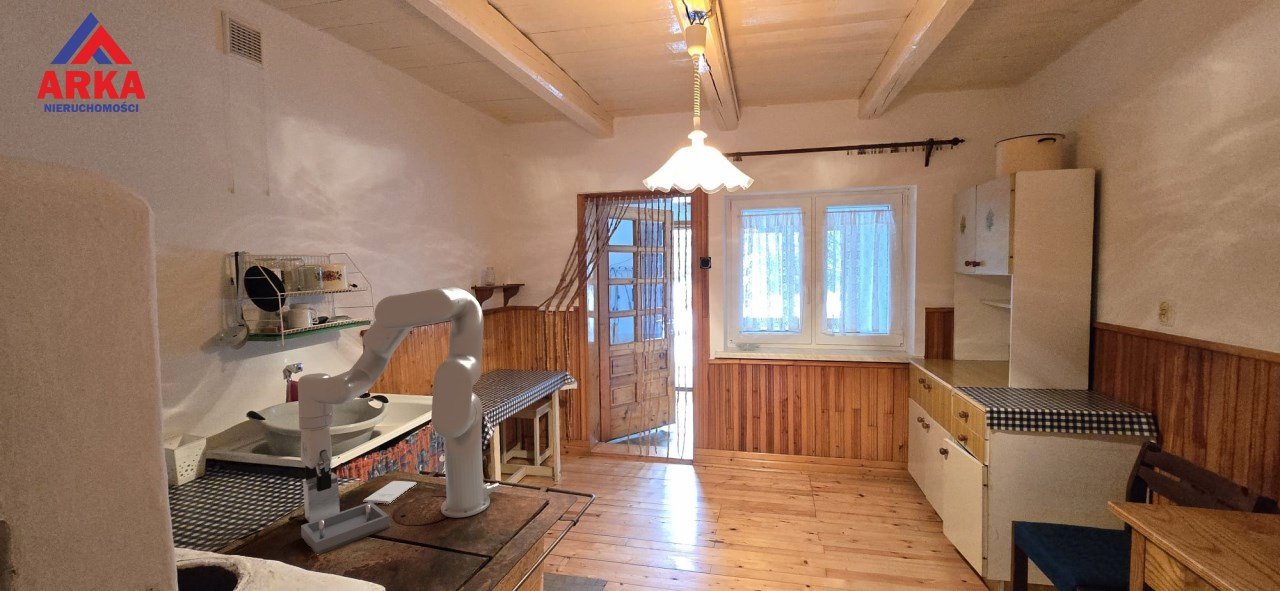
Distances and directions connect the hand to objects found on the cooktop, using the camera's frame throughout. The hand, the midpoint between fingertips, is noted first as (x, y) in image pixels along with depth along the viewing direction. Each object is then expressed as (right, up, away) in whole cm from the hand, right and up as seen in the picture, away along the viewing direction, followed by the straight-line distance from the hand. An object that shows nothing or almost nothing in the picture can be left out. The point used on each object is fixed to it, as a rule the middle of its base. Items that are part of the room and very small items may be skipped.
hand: (318, 484), depth 133 cm
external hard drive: (+13, -8, +13) cm, 20 cm away
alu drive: (+1, -9, +1) cm, 9 cm away
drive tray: (+13, -9, -9) cm, 18 cm away
